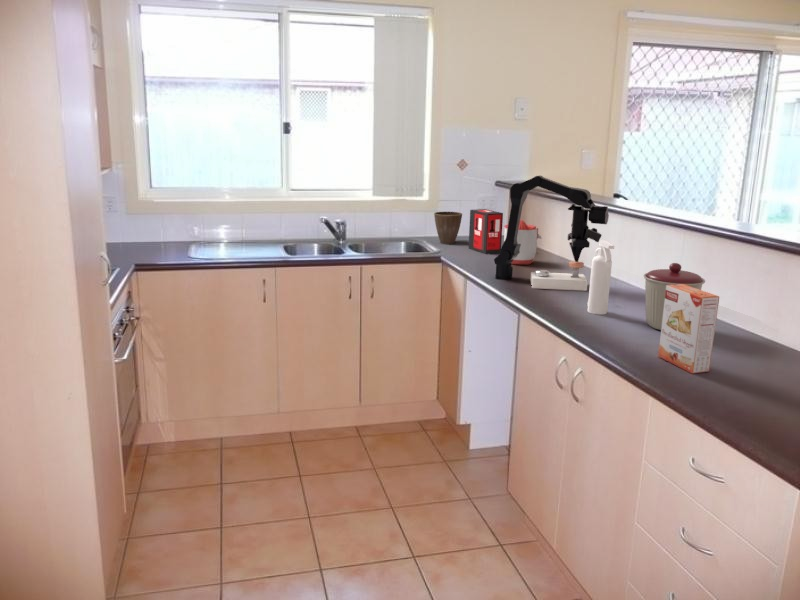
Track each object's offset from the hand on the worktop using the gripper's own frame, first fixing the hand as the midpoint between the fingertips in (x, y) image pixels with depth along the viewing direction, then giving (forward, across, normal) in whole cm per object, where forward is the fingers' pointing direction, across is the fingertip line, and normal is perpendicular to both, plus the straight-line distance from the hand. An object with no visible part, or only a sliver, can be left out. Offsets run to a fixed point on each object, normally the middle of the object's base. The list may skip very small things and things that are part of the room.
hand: (576, 261), depth 270 cm
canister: (+10, -53, -23) cm, 59 cm away
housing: (+10, 0, +6) cm, 12 cm away
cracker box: (+10, -89, -18) cm, 91 cm away
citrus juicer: (+10, +45, +19) cm, 50 cm away
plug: (+10, 0, +13) cm, 16 cm away
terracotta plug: (+6, 0, 0) cm, 6 cm away
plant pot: (+10, +92, +56) cm, 108 cm away
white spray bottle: (+10, -37, -3) cm, 39 cm away
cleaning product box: (+10, +73, +36) cm, 82 cm away
